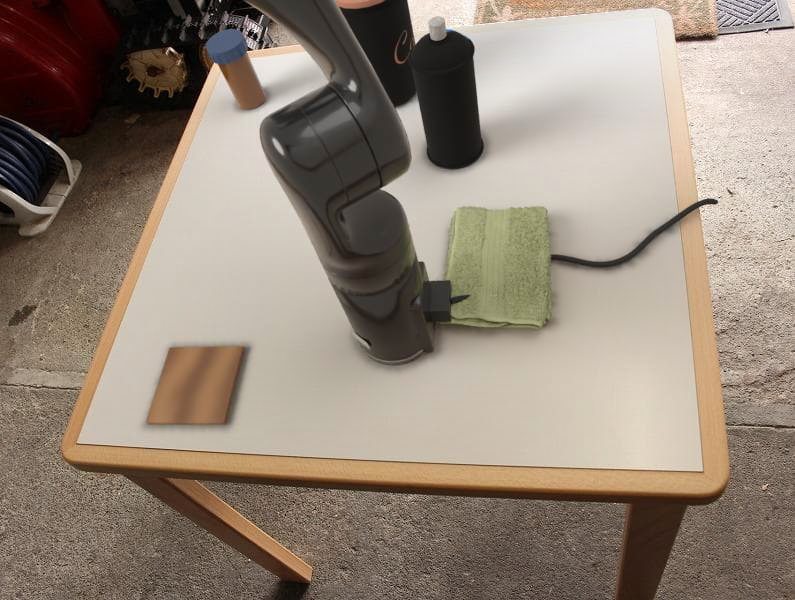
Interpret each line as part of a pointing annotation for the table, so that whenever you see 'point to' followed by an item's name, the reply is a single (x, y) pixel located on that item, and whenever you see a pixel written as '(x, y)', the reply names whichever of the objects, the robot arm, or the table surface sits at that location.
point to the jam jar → (244, 83)
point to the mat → (196, 386)
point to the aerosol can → (447, 95)
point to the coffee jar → (385, 42)
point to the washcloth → (500, 267)
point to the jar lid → (227, 46)
